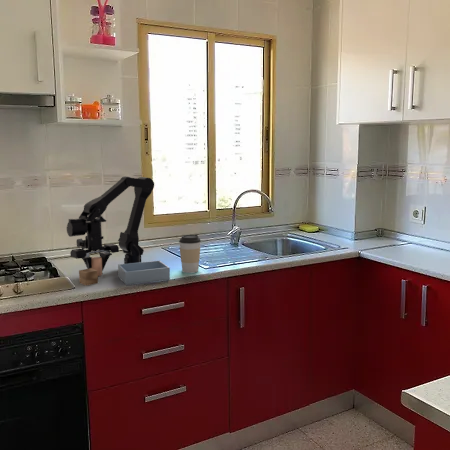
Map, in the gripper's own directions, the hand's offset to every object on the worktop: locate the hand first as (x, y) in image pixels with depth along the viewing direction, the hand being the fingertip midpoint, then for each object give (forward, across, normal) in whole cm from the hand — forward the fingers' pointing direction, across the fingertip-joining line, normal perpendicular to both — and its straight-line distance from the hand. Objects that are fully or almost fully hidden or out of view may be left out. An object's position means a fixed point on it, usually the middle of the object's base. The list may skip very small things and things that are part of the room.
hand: (96, 271), depth 205 cm
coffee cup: (+2, -32, +21) cm, 38 cm away
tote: (+1, -11, +18) cm, 21 cm away
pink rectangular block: (+1, 0, 0) cm, 1 cm away
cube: (+2, +8, +9) cm, 12 cm away
